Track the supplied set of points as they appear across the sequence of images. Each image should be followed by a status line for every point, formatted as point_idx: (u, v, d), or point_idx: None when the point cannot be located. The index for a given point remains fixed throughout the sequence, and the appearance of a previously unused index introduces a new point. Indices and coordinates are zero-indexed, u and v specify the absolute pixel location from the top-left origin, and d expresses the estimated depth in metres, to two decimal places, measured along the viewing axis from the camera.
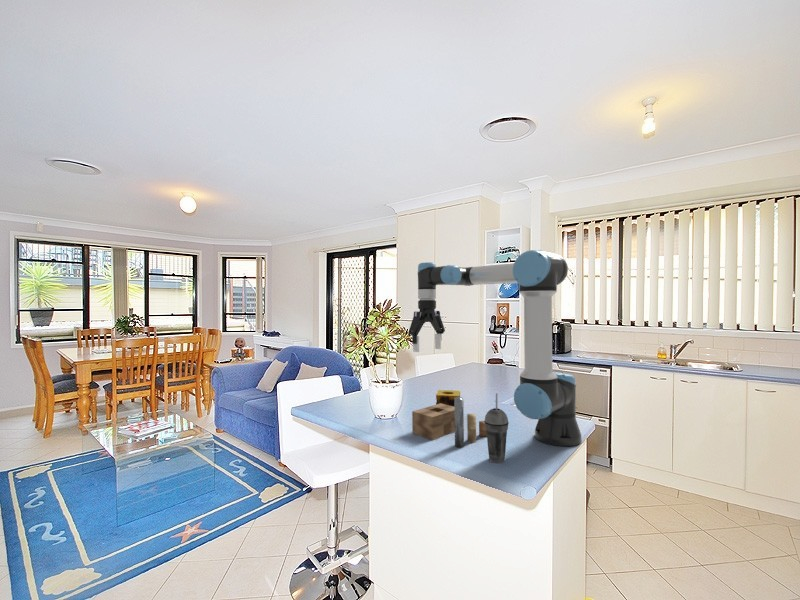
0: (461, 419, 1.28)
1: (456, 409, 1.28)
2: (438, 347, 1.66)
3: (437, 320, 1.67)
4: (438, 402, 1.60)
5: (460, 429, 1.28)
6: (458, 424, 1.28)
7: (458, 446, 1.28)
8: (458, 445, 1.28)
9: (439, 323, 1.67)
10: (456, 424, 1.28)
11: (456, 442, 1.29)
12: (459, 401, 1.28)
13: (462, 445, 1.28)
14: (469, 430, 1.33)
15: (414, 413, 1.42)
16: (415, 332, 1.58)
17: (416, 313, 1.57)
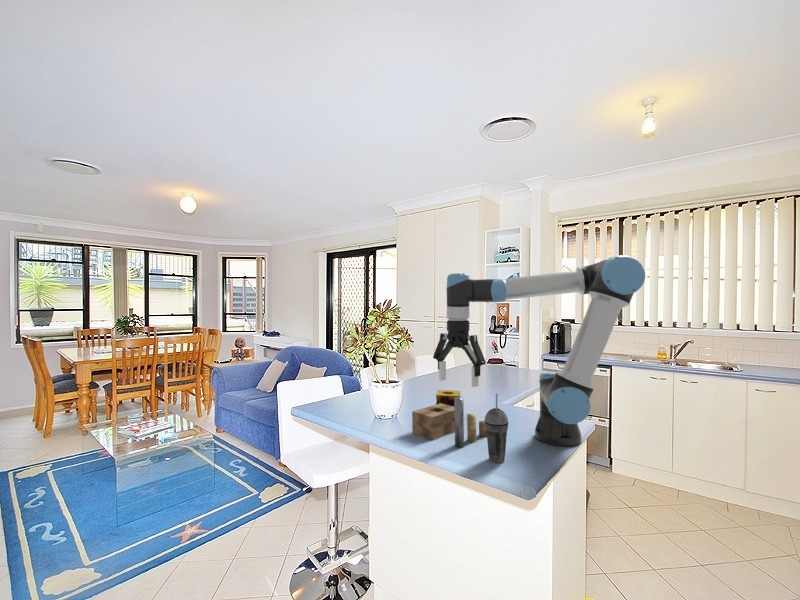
0: (461, 419, 1.28)
1: (456, 409, 1.28)
2: None
3: None
4: (438, 402, 1.60)
5: (460, 429, 1.28)
6: (458, 424, 1.28)
7: (458, 446, 1.28)
8: (458, 445, 1.28)
9: None
10: (456, 424, 1.28)
11: (456, 442, 1.29)
12: (459, 401, 1.28)
13: (462, 445, 1.28)
14: (469, 430, 1.33)
15: (414, 413, 1.42)
16: (444, 357, 1.35)
17: None
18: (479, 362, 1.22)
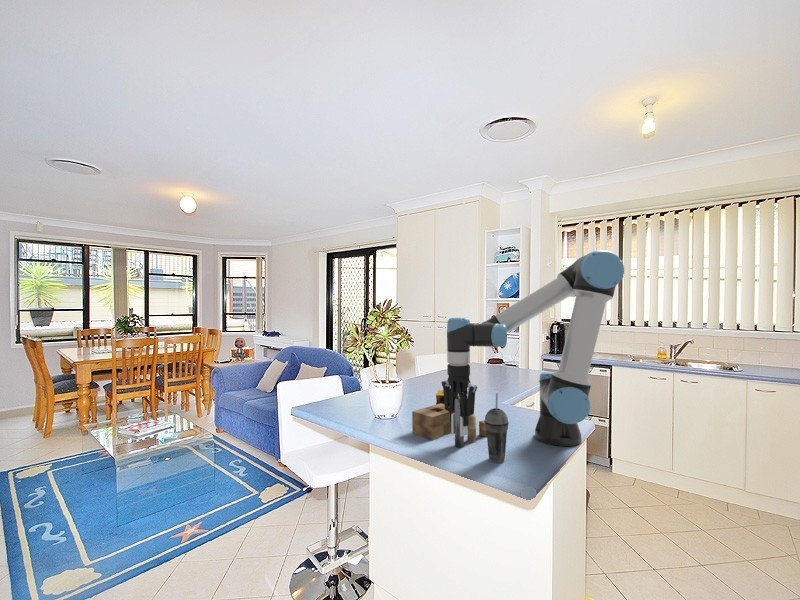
0: None
1: (456, 409, 1.28)
2: None
3: None
4: (438, 402, 1.60)
5: None
6: (458, 424, 1.28)
7: (458, 446, 1.28)
8: (458, 445, 1.28)
9: None
10: (456, 424, 1.28)
11: (456, 442, 1.29)
12: (459, 401, 1.28)
13: (462, 445, 1.28)
14: (469, 430, 1.33)
15: (414, 413, 1.42)
16: None
17: None
18: (467, 413, 1.25)
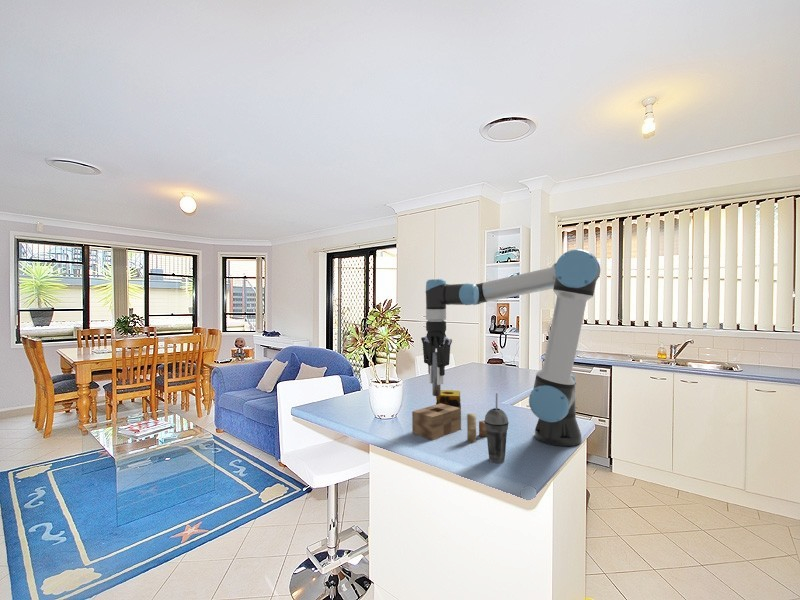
0: None
1: (433, 362, 1.43)
2: None
3: None
4: (438, 402, 1.60)
5: None
6: (435, 375, 1.43)
7: (435, 395, 1.43)
8: (435, 394, 1.43)
9: None
10: (433, 375, 1.44)
11: (433, 391, 1.44)
12: (436, 354, 1.43)
13: (439, 394, 1.43)
14: (469, 430, 1.33)
15: (414, 413, 1.42)
16: None
17: None
18: (443, 363, 1.40)
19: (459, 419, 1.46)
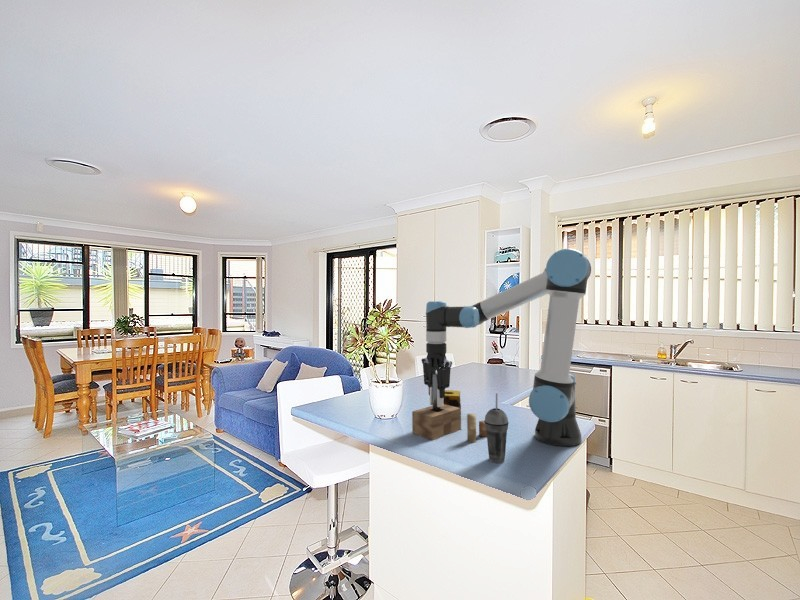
0: None
1: (434, 383, 1.43)
2: None
3: None
4: None
5: None
6: (435, 397, 1.43)
7: None
8: None
9: None
10: (433, 397, 1.44)
11: None
12: (437, 376, 1.43)
13: None
14: (469, 430, 1.33)
15: (414, 413, 1.42)
16: None
17: None
18: (443, 386, 1.40)
19: (459, 419, 1.46)
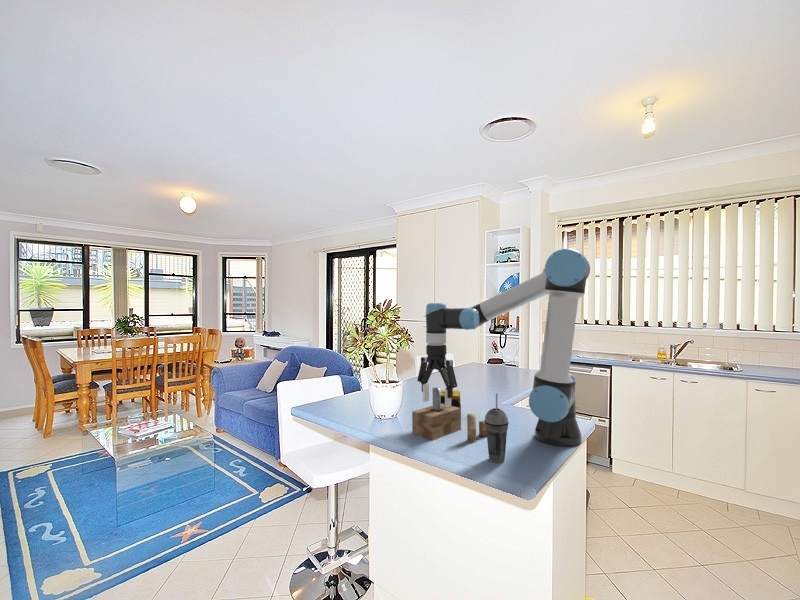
0: (438, 407, 1.43)
1: (434, 398, 1.43)
2: None
3: None
4: None
5: None
6: None
7: None
8: None
9: None
10: None
11: None
12: (437, 391, 1.43)
13: None
14: (469, 430, 1.33)
15: (414, 413, 1.42)
16: (427, 379, 1.49)
17: None
18: (451, 385, 1.38)
19: (459, 419, 1.46)
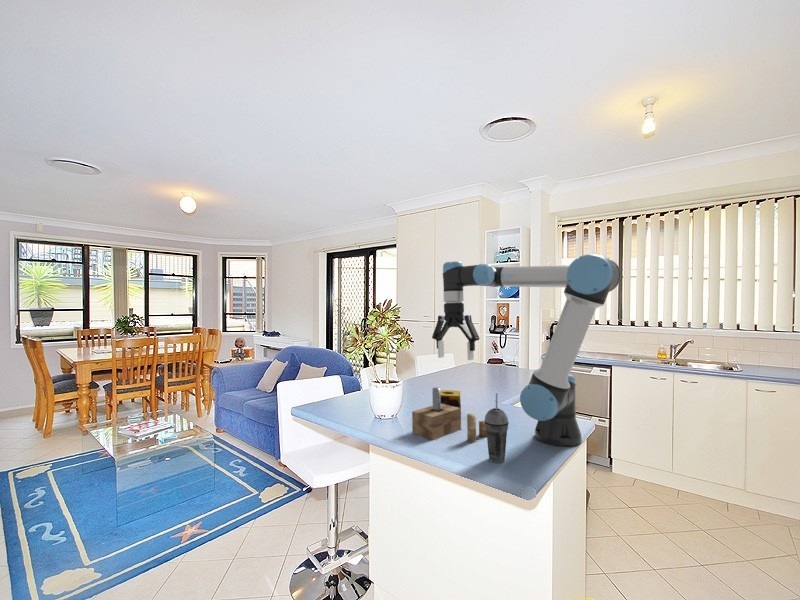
0: (438, 407, 1.43)
1: (434, 398, 1.43)
2: None
3: None
4: None
5: None
6: None
7: None
8: None
9: None
10: None
11: None
12: (437, 391, 1.43)
13: None
14: (469, 430, 1.33)
15: (414, 413, 1.42)
16: (442, 337, 1.52)
17: None
18: (474, 338, 1.40)
19: (459, 419, 1.46)
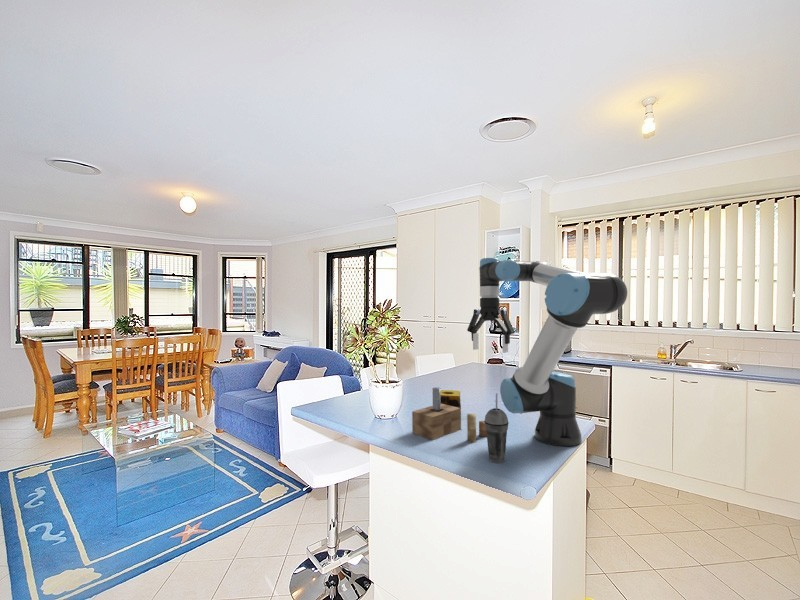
0: (438, 407, 1.43)
1: (434, 398, 1.43)
2: None
3: None
4: None
5: None
6: None
7: None
8: None
9: None
10: None
11: None
12: (437, 391, 1.43)
13: None
14: (469, 430, 1.33)
15: (414, 413, 1.42)
16: (477, 330, 1.58)
17: None
18: (509, 331, 1.46)
19: (459, 419, 1.46)
